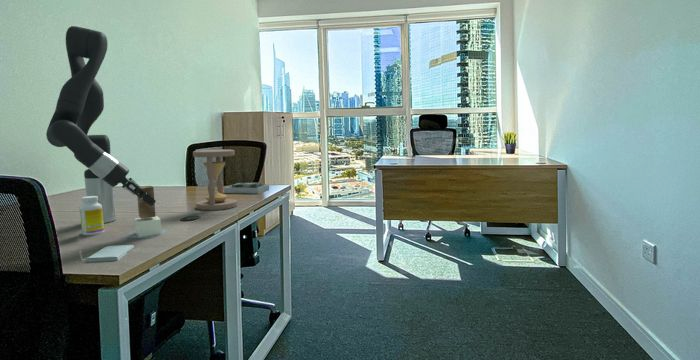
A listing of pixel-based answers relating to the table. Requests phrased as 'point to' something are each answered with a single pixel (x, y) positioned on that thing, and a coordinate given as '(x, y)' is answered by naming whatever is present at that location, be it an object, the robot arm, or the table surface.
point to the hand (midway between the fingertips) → (152, 202)
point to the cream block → (148, 226)
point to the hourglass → (215, 170)
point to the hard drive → (110, 253)
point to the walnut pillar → (143, 206)
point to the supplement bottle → (91, 216)
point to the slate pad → (134, 235)
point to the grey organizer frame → (246, 189)
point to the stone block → (248, 185)
